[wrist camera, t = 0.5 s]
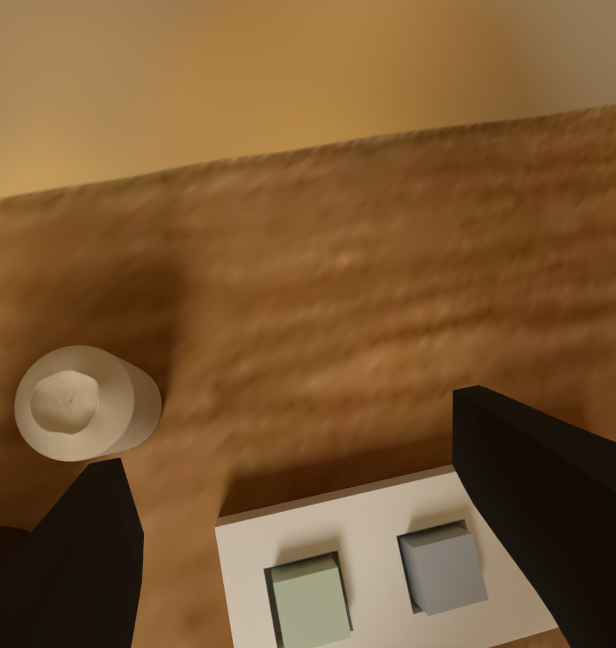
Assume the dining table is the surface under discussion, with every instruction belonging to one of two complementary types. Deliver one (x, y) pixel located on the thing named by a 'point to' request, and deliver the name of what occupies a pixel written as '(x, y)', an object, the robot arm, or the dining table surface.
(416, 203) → the dining table surface
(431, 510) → the button panel
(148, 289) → the dining table surface
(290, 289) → the dining table surface
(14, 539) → the bottle
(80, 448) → the candle
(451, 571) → the slate button
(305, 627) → the sage button
